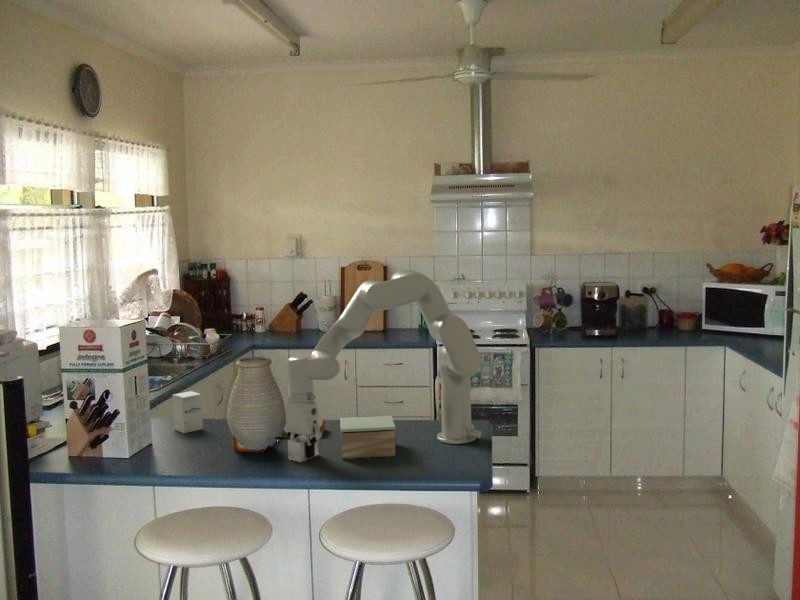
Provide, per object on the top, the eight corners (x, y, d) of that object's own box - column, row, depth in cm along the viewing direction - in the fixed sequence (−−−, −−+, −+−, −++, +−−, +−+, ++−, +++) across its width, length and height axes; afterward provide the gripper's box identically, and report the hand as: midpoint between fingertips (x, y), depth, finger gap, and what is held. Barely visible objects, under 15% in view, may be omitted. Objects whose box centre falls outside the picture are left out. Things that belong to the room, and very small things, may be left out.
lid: (395, 429, 235) (395, 426, 235) (340, 432, 234) (340, 429, 234) (391, 418, 249) (391, 415, 249) (340, 420, 248) (340, 417, 248)
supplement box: (183, 434, 266) (181, 397, 264) (173, 429, 271) (171, 394, 270) (203, 429, 271) (201, 393, 269) (193, 425, 276) (191, 390, 274)
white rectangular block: (318, 455, 240) (317, 436, 239) (300, 462, 233) (300, 443, 232) (306, 452, 242) (305, 433, 242) (288, 459, 236) (287, 440, 235)
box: (395, 456, 236) (394, 431, 235) (342, 459, 235) (341, 433, 234) (391, 443, 250) (391, 418, 249) (341, 445, 249) (340, 420, 248)
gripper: (331, 397, 234) (333, 456, 236) (288, 391, 243) (291, 447, 246) (314, 403, 228) (316, 463, 230) (271, 396, 237) (274, 454, 239)
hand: (303, 454), depth 238 cm, fingers closed on white rectangular block, 5 cm apart
